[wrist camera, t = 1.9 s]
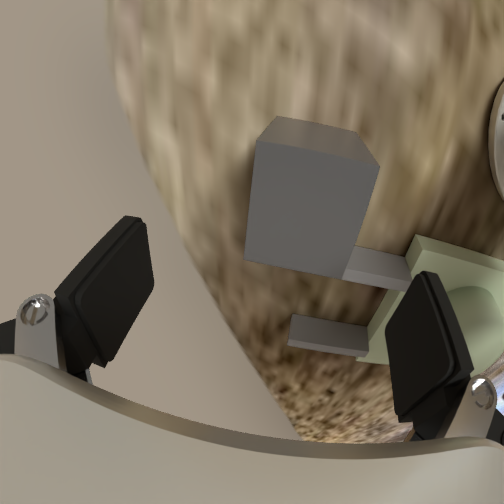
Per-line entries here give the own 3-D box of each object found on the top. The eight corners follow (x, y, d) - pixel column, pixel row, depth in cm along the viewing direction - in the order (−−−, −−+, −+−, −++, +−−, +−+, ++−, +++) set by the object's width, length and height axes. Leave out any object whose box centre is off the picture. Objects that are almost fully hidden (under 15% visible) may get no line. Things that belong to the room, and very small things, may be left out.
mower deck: (526, 268, 17) (551, 311, 12) (459, 355, 25) (468, 397, 21) (321, 211, 19) (322, 264, 14) (286, 333, 28) (277, 384, 23)
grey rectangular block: (355, 132, 15) (379, 166, 10) (335, 213, 19) (341, 279, 14) (277, 115, 16) (256, 140, 10) (265, 199, 20) (243, 259, 14)
